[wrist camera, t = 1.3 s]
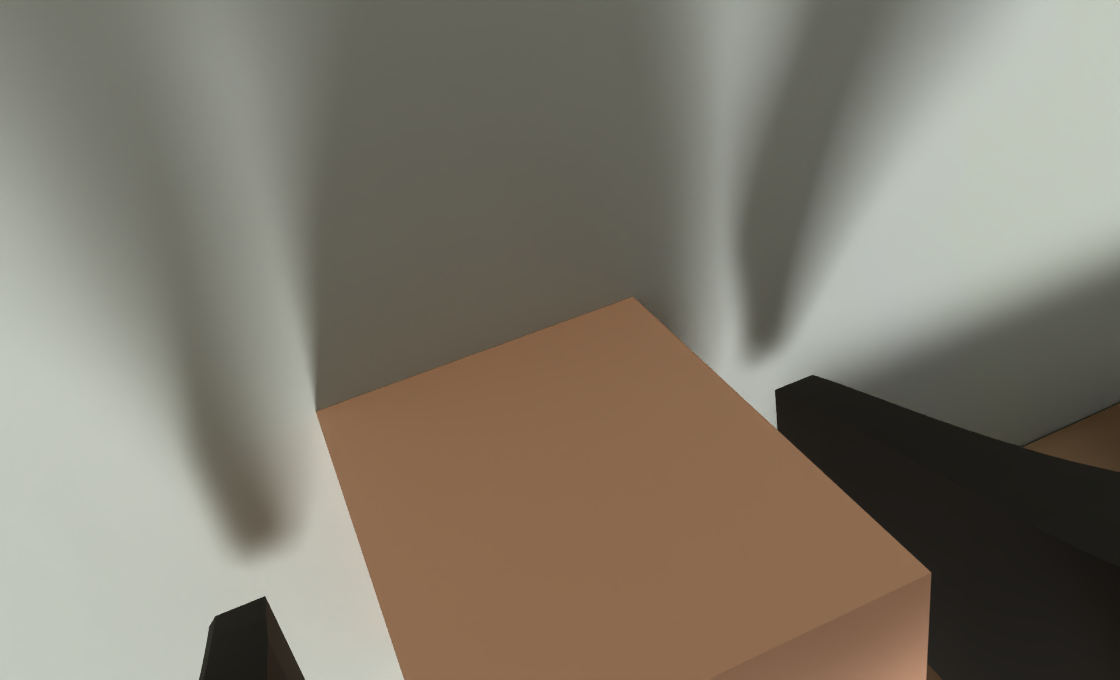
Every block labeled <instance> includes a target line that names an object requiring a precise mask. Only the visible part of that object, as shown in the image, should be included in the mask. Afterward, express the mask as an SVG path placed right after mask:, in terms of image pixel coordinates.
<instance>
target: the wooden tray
mask: <svg viewBox="0 0 1120 680" xmlns="http://www.w3.org/2000/svg"><path fill="white" fill-rule="evenodd" d="M1023 448H1026V449H1030V450H1033V451H1036V452H1040V453H1043V454H1047V455H1050V456H1054V457H1058V458H1062V459H1066V460H1069V461H1073V462H1077V463H1082V464H1086V465H1090V466H1095V467H1099V468H1103V469H1108V470H1112V471H1116V472H1120V403H1119V404H1117V405H1114V406H1112V407H1110V408H1108V409H1106V410H1103V411H1101V412H1099V413H1097V414H1095V415H1092V416H1090V417H1088V418H1086V419H1083V420H1081V421H1079V422H1077V423H1075V424H1072V425H1070V426H1068V427H1066V428H1064V429H1061V430H1059V431H1057V432H1055V433H1052V434H1050V435H1048V436H1046V437H1044V438H1041V439H1039V440H1037V441H1035V442H1033V443H1030V444H1028V445H1026V446H1024V447H1023ZM926 680H942V679H941V678H940V677H939V675H938V674H937V673H936V672H935V671H934V670H933V669H932V668H931V667H930V666H929V665H928V664H927V674H926Z"/></svg>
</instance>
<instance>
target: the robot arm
mask: <svg viewBox="0 0 1120 680" xmlns="http://www.w3.org/2000/svg"><path fill="white" fill-rule="evenodd" d="M775 397H776V413H777V428H778V431H779V432H780V433H781V434H782V435H783V436H784V437H785V438H786V439H788V440H789V441H790V442H791V443H792V444H793V445H794V446H795V447H796V448H797V449H798V450H799V451H801V452H802V453H803V454H804V455H805V456H806V457H807V458H808V459H809V460H810V461H811V462H812V463H813V464H815V465H816V466H817V467H818V468H819V469H820V470H821V471H822V472H823V473H824V474H825V475H826V476H828V477H829V478H830V479H831V480H832V481H833V482H834V483H835V484H836V485H837V486H838V487H839V488H841V489H842V490H843V491H844V492H845V493H846V494H847V495H848V496H849V497H850V498H851V499H852V500H853V501H855V502H856V503H857V504H858V505H859V506H860V507H861V508H862V509H863V510H864V511H865V512H866V513H868V514H869V515H870V516H871V517H872V518H873V519H874V520H875V521H876V522H877V523H878V524H879V525H880V526H882V527H883V528H884V529H885V530H886V531H887V532H888V533H889V534H890V535H891V536H892V537H893V538H895V539H896V540H897V541H898V542H899V543H900V544H901V545H902V546H903V547H904V548H905V549H906V550H907V551H909V552H910V553H911V554H912V555H913V556H914V557H915V558H916V559H917V560H918V561H919V562H920V563H922V564H923V565H924V566H925V567H926V568H927V569H928V570H929V571H930V572H931V591H930V611H929V632H928V653H927V664H928V665H929V666H930V667H931V668H932V669H933V670H934V671H935V672H936V673H937V674H938V675H939V677H940V678H941V679H942V680H1120V472H1116V471H1112V470H1108V469H1103V468H1099V467H1095V466H1090V465H1086V464H1082V463H1077V462H1073V461H1069V460H1066V459H1062V458H1058V457H1054V456H1050V455H1047V454H1043V453H1040V452H1036V451H1033V450H1030V449H1026V448H1023V447H1020V446H1016V445H1013V444H1009V443H1006V442H1003V441H999V440H996V439H993V438H990V437H987V436H984V435H981V434H978V433H975V432H971V431H968V430H966V429H963V428H960V427H957V426H954V425H951V424H948V423H945V422H942V421H940V420H937V419H934V418H931V417H928V416H925V415H923V414H920V413H917V412H914V411H912V410H909V409H906V408H903V407H901V406H898V405H895V404H893V403H890V402H887V401H885V400H882V399H879V398H877V397H874V396H871V395H868V394H866V393H863V392H860V391H858V390H855V389H852V388H849V387H847V386H844V385H841V384H838V383H835V382H833V381H830V380H827V379H824V378H820V377H817V376H814V375H811V376H809V377H806V378H804V379H801V380H799V381H796V382H794V383H791V384H789V385H786V386H784V387H781V388H779V389H776V390H775ZM199 680H305V679H304V677H303V674H302V672H301V670H300V668H299V666H298V664H297V662H296V660H295V658H294V656H293V654H292V651H291V649H290V647H289V645H288V643H287V641H286V639H285V637H284V635H283V633H282V631H281V628H280V626H279V624H278V622H277V620H276V618H275V616H274V614H273V612H272V610H271V608H270V605H269V603H268V601H267V599H266V597H265V596H264V597H262V598H259V599H257V600H254V601H252V602H250V603H247V604H245V605H242V606H240V607H237V608H235V609H232V610H230V611H227V612H225V613H222V614H220V615H217V616H215V618H214V620H213V621H212V623H211V625H210V626H209V632H208V638H207V644H206V649H205V654H204V659H203V664H202V669H201V673H200V678H199Z"/></svg>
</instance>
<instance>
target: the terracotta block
mask: <svg viewBox="0 0 1120 680" xmlns="http://www.w3.org/2000/svg"><path fill="white" fill-rule="evenodd" d="M316 414H317V417H318V420H319V423H320V426H321V429H322V432H323V435H324V438H325V441H326V444H327V447H328V450H329V453H330V456H331V459H332V462H333V465H334V468H335V471H336V474H337V477H338V480H339V483H340V486H341V489H342V492H343V496H344V499H345V502H346V505H347V508H348V511H349V514H350V517H351V520H352V523H353V526H354V529H355V532H356V535H357V538H358V541H359V544H360V547H361V550H362V553H363V556H364V559H365V562H366V565H367V568H368V571H369V574H370V577H371V580H372V583H373V586H374V589H375V592H376V595H377V598H378V601H379V605H380V608H381V611H382V614H383V617H384V620H385V623H386V626H387V629H388V632H389V635H390V638H391V641H392V644H393V647H394V650H395V653H396V656H397V659H398V662H399V665H400V668H401V671H402V674H403V677H404V680H926V674H927V653H928V632H929V611H930V591H931V572H930V571H929V570H928V569H927V568H926V567H925V566H924V565H923V564H922V563H920V562H919V561H918V560H917V559H916V558H915V557H914V556H913V555H912V554H911V553H910V552H909V551H907V550H906V549H905V548H904V547H903V546H902V545H901V544H900V543H899V542H898V541H897V540H896V539H895V538H893V537H892V536H891V535H890V534H889V533H888V532H887V531H886V530H885V529H884V528H883V527H882V526H880V525H879V524H878V523H877V522H876V521H875V520H874V519H873V518H872V517H871V516H870V515H869V514H868V513H866V512H865V511H864V510H863V509H862V508H861V507H860V506H859V505H858V504H857V503H856V502H855V501H853V500H852V499H851V498H850V497H849V496H848V495H847V494H846V493H845V492H844V491H843V490H842V489H841V488H839V487H838V486H837V485H836V484H835V483H834V482H833V481H832V480H831V479H830V478H829V477H828V476H826V475H825V474H824V473H823V472H822V471H821V470H820V469H819V468H818V467H817V466H816V465H815V464H813V463H812V462H811V461H810V460H809V459H808V458H807V457H806V456H805V455H804V454H803V453H802V452H801V451H799V450H798V449H797V448H796V447H795V446H794V445H793V444H792V443H791V442H790V441H789V440H788V439H786V438H785V437H784V436H783V435H782V434H781V433H780V432H779V431H778V430H777V429H776V428H775V427H774V426H772V425H771V424H770V423H769V422H768V421H767V420H766V419H765V418H764V417H763V416H762V415H761V414H759V413H758V412H757V411H756V410H755V409H754V408H753V407H752V406H751V405H750V404H749V403H748V402H746V401H745V400H744V399H743V398H742V397H741V396H740V395H739V394H738V393H737V392H736V391H735V390H734V389H732V388H731V387H730V386H729V385H728V384H727V383H726V382H725V381H724V380H723V379H722V378H721V377H719V376H718V375H717V374H716V373H715V372H714V371H713V370H712V369H711V368H710V367H709V366H708V365H707V364H705V363H704V362H703V361H702V360H701V359H700V358H699V357H698V356H697V355H696V354H695V353H694V352H692V351H691V350H690V349H689V348H688V347H687V346H686V345H685V344H684V343H683V342H682V341H681V340H679V339H678V338H677V337H676V336H675V335H674V334H673V333H672V332H671V331H670V330H669V329H668V328H667V327H665V326H664V325H663V324H662V323H661V322H660V321H659V320H658V319H657V318H656V317H655V316H654V315H652V314H651V313H650V312H649V311H648V310H647V309H646V308H645V307H644V306H643V305H642V304H641V303H640V302H638V301H637V300H636V299H635V298H634V297H630V298H628V299H625V300H622V301H619V302H617V303H614V304H611V305H608V306H606V307H603V308H600V309H597V310H594V311H592V312H589V313H586V314H583V315H581V316H578V317H575V318H572V319H570V320H567V321H564V322H561V323H559V324H556V325H553V326H550V327H548V328H545V329H542V330H539V331H537V332H534V333H531V334H528V335H525V336H523V337H520V338H517V339H514V340H512V341H509V342H506V343H503V344H501V345H498V346H495V347H492V348H490V349H487V350H484V351H481V352H479V353H476V354H473V355H470V356H468V357H465V358H462V359H459V360H456V361H454V362H451V363H448V364H445V365H443V366H440V367H437V368H434V369H432V370H429V371H426V372H423V373H421V374H418V375H415V376H412V377H410V378H407V379H404V380H401V381H399V382H396V383H393V384H390V385H388V386H385V387H382V388H379V389H376V390H374V391H371V392H368V393H365V394H363V395H360V396H357V397H354V398H352V399H349V400H346V401H343V402H341V403H338V404H335V405H332V406H330V407H327V408H324V409H321V410H319V411H316Z"/></svg>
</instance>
